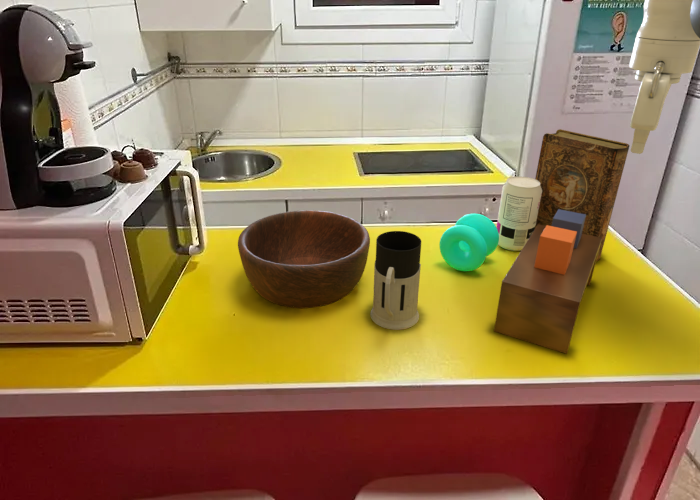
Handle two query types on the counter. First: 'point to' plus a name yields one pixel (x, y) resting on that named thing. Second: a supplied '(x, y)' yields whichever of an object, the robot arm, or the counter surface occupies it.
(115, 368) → the counter surface
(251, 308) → the counter surface
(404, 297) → the glass holder
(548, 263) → the orange box
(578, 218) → the slate-blue box
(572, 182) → the book
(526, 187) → the supplement can
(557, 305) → the shelf
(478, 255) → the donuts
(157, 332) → the counter surface
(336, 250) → the wooden bowl
